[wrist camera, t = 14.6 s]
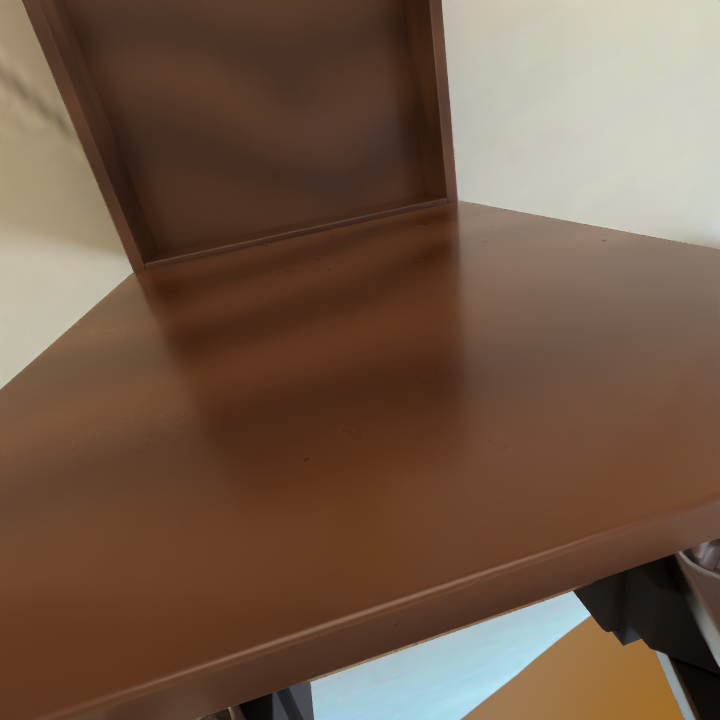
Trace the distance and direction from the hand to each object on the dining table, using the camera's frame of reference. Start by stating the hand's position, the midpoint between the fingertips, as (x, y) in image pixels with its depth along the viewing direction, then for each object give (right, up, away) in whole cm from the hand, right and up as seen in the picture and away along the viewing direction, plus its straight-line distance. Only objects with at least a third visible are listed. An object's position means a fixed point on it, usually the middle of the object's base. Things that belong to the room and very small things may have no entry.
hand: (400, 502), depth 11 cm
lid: (-2, +6, +2) cm, 6 cm away
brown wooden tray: (-6, +20, +11) cm, 24 cm away
